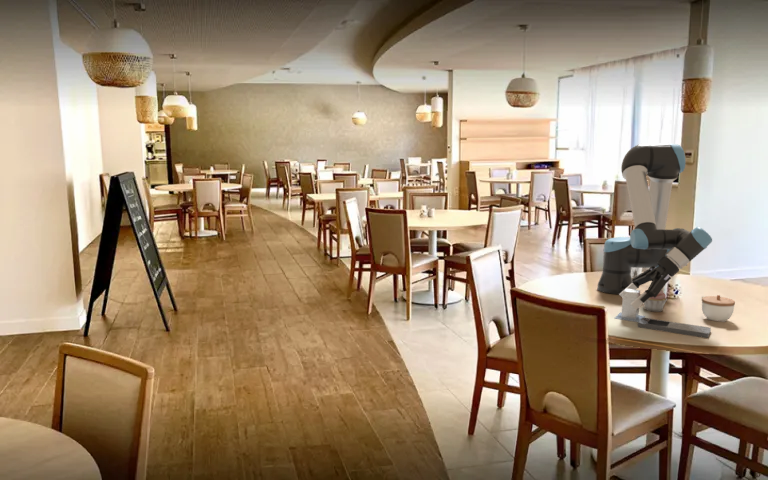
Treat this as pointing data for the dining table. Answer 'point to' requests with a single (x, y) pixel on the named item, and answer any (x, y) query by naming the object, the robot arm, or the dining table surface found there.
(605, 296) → the dining table surface
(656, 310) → the cupcake
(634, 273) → the cup with straw
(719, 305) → the lidded jar
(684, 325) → the rail
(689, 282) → the dining table surface
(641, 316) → the mat
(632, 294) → the nut block
